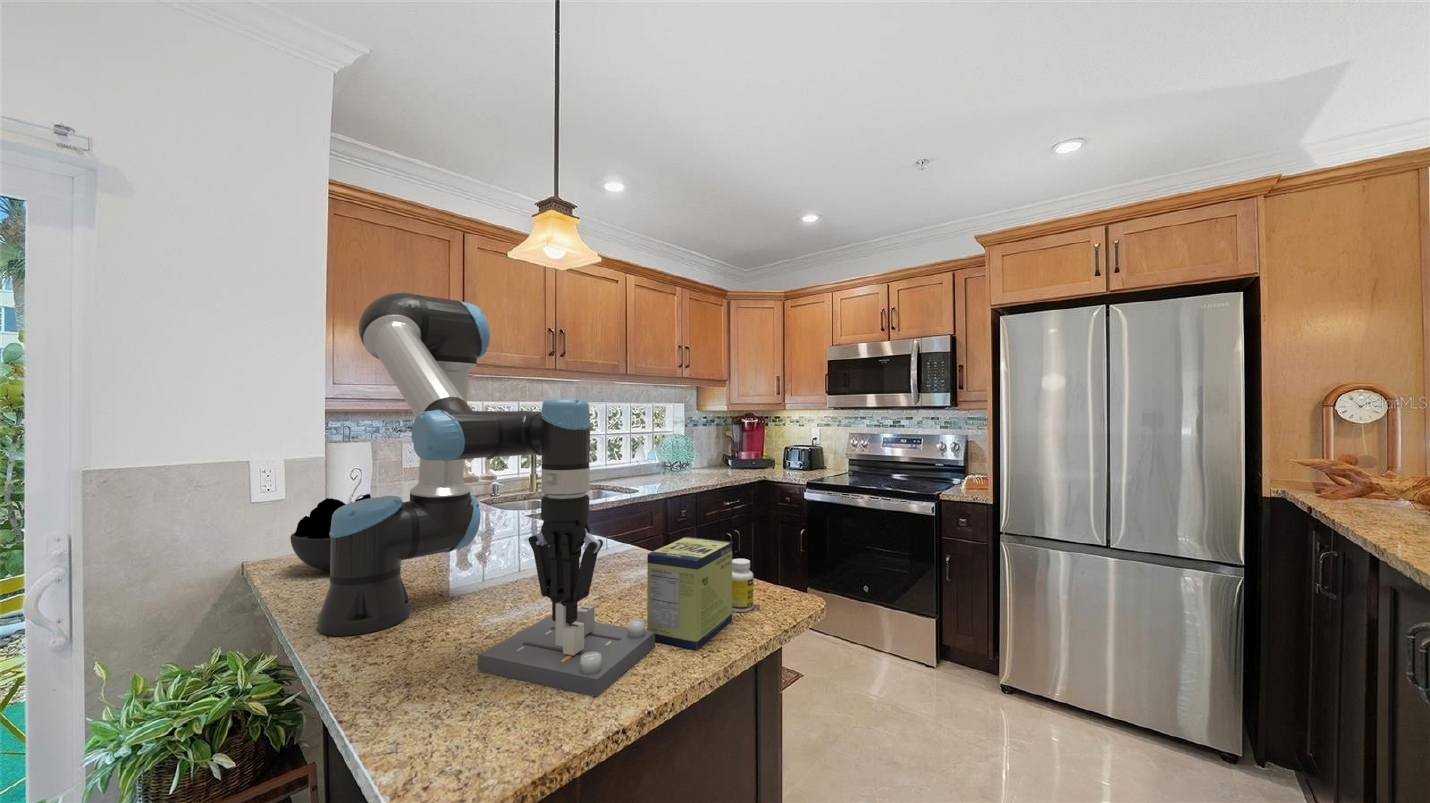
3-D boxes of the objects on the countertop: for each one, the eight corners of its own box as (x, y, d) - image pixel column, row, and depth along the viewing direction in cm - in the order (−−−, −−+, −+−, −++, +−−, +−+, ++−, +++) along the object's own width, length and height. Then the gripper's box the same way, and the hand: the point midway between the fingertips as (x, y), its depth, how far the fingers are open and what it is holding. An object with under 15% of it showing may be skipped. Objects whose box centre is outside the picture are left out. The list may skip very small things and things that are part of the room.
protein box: (733, 620, 107) (733, 540, 107) (697, 651, 93) (697, 559, 93) (686, 611, 111) (686, 535, 112) (645, 640, 97) (645, 553, 97)
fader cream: (562, 653, 86) (563, 627, 86) (573, 646, 88) (573, 620, 88) (573, 655, 85) (573, 628, 85) (584, 648, 87) (584, 622, 88)
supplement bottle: (751, 613, 110) (751, 565, 110) (725, 611, 111) (725, 563, 111) (754, 604, 115) (754, 558, 116) (729, 602, 116) (729, 556, 117)
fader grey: (575, 633, 93) (575, 609, 93) (584, 627, 96) (584, 604, 96) (585, 635, 92) (585, 611, 92) (594, 629, 95) (594, 605, 95)
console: (477, 670, 86) (477, 641, 86) (550, 628, 103) (550, 603, 103) (597, 696, 78) (597, 664, 78) (655, 646, 95) (655, 619, 95)
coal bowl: (282, 585, 127) (284, 505, 128) (296, 565, 145) (297, 494, 145) (382, 573, 137) (383, 498, 138) (384, 555, 155) (385, 489, 155)
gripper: (516, 495, 86) (515, 645, 86) (586, 500, 82) (585, 658, 81) (547, 489, 93) (546, 627, 93) (613, 493, 89) (612, 639, 88)
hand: (564, 642), depth 87 cm, fingers closed
